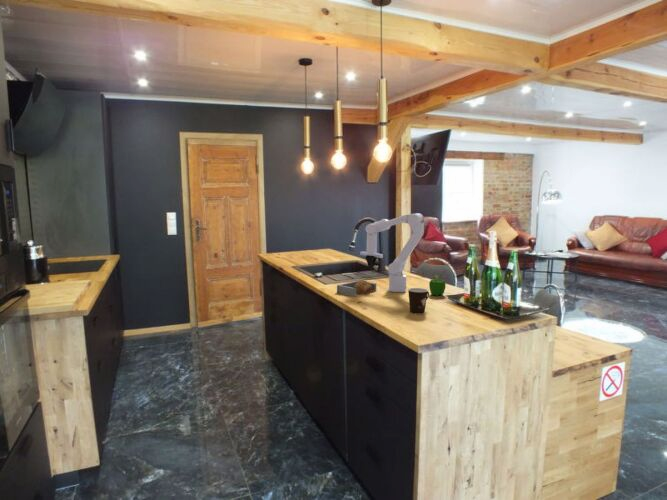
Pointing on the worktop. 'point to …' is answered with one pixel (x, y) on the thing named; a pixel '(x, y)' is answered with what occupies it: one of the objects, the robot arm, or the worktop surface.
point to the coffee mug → (417, 299)
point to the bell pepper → (437, 286)
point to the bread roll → (363, 287)
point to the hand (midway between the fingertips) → (370, 269)
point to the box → (351, 288)
